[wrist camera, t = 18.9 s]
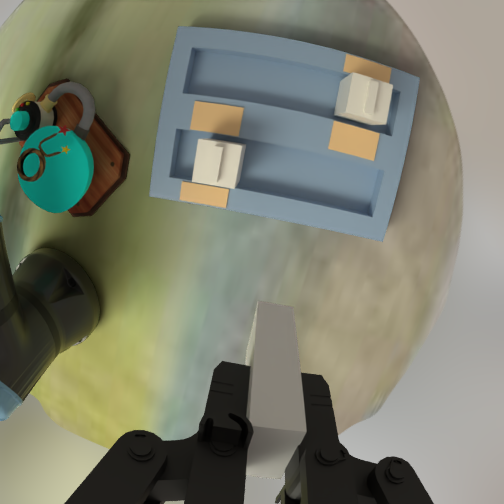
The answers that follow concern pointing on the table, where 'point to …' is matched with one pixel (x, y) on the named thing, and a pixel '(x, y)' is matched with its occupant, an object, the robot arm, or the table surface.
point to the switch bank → (281, 130)
